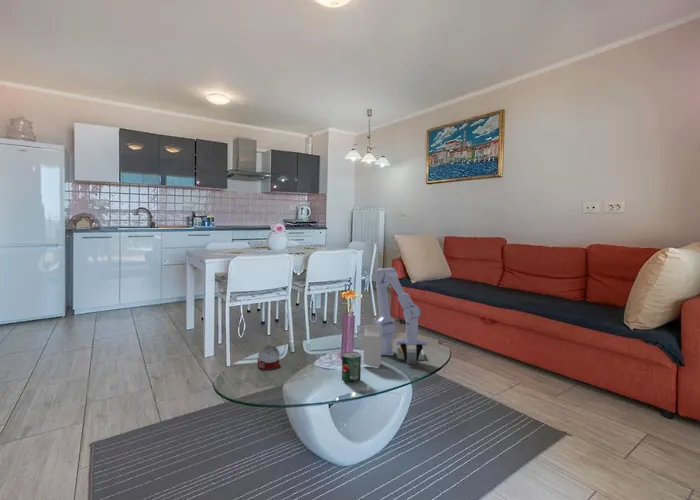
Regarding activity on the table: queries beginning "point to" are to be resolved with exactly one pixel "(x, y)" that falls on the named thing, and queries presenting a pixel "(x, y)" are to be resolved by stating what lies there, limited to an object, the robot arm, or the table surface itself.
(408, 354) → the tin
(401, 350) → the jar
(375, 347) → the milk carton
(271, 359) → the grey and red dome
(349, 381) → the canned tomato
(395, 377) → the table surface
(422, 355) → the crate
